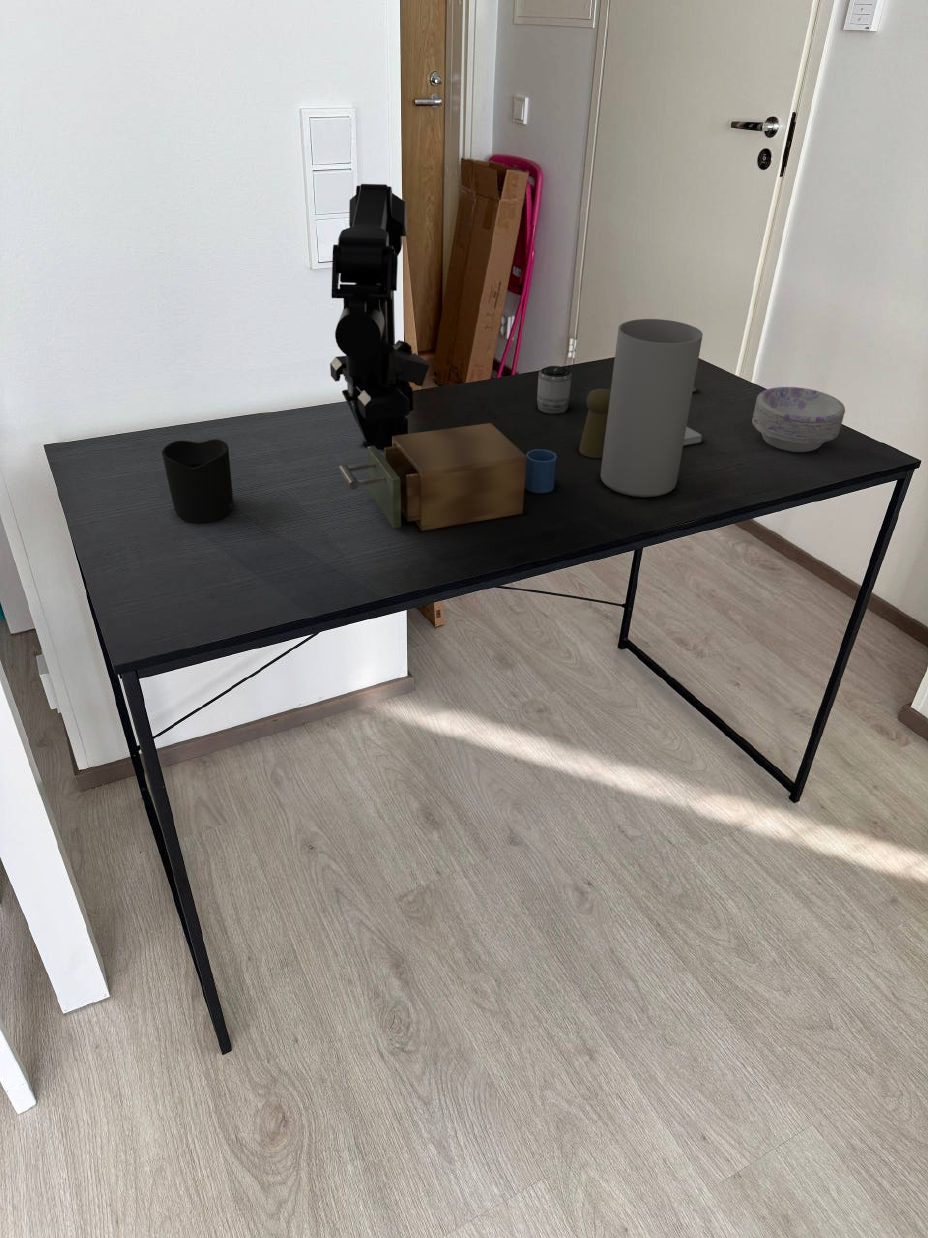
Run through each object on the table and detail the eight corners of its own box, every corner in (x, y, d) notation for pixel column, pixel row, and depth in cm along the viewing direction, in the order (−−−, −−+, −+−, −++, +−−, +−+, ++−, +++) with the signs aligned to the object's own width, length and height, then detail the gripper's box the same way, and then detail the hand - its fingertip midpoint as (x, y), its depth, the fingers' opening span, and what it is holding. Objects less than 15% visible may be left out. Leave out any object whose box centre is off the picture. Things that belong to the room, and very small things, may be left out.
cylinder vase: (592, 491, 146) (610, 336, 132) (609, 461, 156) (627, 314, 142) (669, 504, 143) (696, 348, 129) (681, 473, 152) (707, 324, 138)
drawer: (357, 534, 130) (355, 485, 126) (334, 497, 140) (331, 451, 135) (490, 512, 137) (492, 465, 133) (460, 478, 147) (461, 433, 142)
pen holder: (204, 531, 132) (194, 468, 126) (159, 514, 136) (148, 452, 130) (249, 506, 138) (241, 446, 133) (205, 491, 142) (196, 431, 137)
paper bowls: (786, 465, 156) (797, 421, 152) (731, 432, 168) (739, 391, 163) (852, 452, 162) (865, 410, 157) (795, 421, 173) (805, 381, 169)
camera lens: (570, 404, 178) (574, 365, 173) (566, 416, 172) (569, 376, 168) (538, 401, 179) (541, 362, 174) (533, 412, 174) (536, 372, 169)
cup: (520, 490, 146) (523, 459, 142) (528, 478, 149) (530, 447, 146) (550, 495, 144) (553, 463, 141) (557, 482, 148) (560, 451, 145)
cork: (611, 459, 156) (619, 398, 150) (577, 456, 157) (583, 395, 151) (614, 446, 161) (621, 386, 155) (580, 442, 162) (586, 383, 156)
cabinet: (421, 531, 134) (421, 471, 128) (393, 492, 144) (391, 435, 138) (522, 513, 139) (526, 456, 133) (488, 477, 149) (490, 422, 144)
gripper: (446, 350, 117) (445, 460, 126) (400, 311, 131) (402, 413, 140) (364, 358, 113) (368, 472, 122) (326, 317, 127) (332, 421, 136)
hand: (370, 442), depth 130 cm, fingers closed
